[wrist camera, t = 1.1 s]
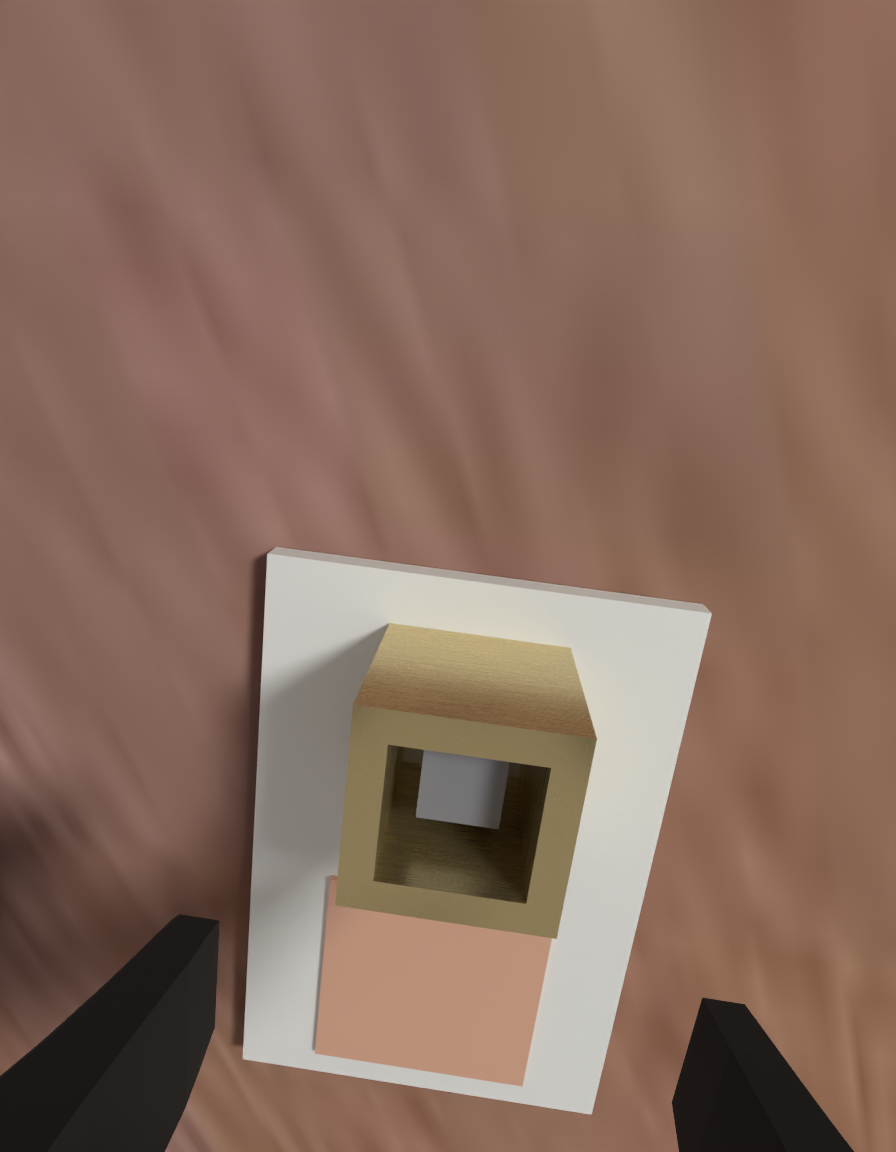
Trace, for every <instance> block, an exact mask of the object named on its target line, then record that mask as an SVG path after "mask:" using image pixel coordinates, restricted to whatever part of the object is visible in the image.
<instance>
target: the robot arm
mask: <svg viewBox="0 0 896 1152" xmlns="http://www.w3.org/2000/svg"><path fill="white" fill-rule="evenodd" d="M218 936H219V921H218V920H211V919H205V918H199V917H192V916H186V915H180V914H179V915H178V916H176V917H175V918H173V919H172V920H171V921H170V922H169V923H168V924H167V925H166V926H165V927H164V928H163V929H162V930H161V931H160V932H159V933H158V934H157V935H156V936H155V937H154V938H153V939H152V940H151V941H150V942H149V943H147V944H146V945H145V946H144V947H143V948H142V949H141V950H140V951H139V952H138V953H137V954H136V955H135V956H134V957H133V958H132V959H131V960H130V961H129V962H128V963H127V964H126V965H125V966H124V967H123V968H122V969H121V970H119V971H118V972H117V973H116V974H115V975H114V976H113V977H112V978H111V979H110V980H109V981H108V982H107V983H106V984H105V985H104V986H102V987H101V988H100V989H99V990H98V991H97V992H96V993H95V994H94V995H93V996H92V997H91V998H89V999H88V1000H87V1001H86V1002H85V1003H84V1004H83V1005H82V1006H81V1007H79V1008H78V1009H77V1010H76V1011H75V1012H74V1013H73V1014H72V1015H71V1016H69V1017H68V1018H67V1019H66V1020H65V1021H64V1022H63V1023H62V1024H61V1025H59V1026H58V1027H57V1028H56V1029H55V1030H54V1031H53V1032H52V1033H51V1034H49V1035H48V1036H47V1037H46V1038H45V1039H44V1040H43V1041H41V1042H40V1043H39V1044H38V1045H37V1046H36V1047H35V1048H33V1049H32V1050H31V1051H30V1052H29V1053H27V1054H26V1055H25V1056H24V1057H23V1058H21V1059H20V1060H19V1061H18V1062H17V1063H15V1064H14V1065H13V1066H12V1067H11V1068H9V1069H8V1070H7V1071H6V1072H5V1073H3V1074H2V1075H1V1076H0V1152H165V1150H166V1148H167V1146H168V1144H169V1141H170V1139H171V1137H172V1135H173V1133H174V1131H175V1129H176V1127H177V1124H178V1122H179V1120H180V1118H181V1116H182V1114H183V1111H184V1109H185V1107H186V1104H187V1102H188V1099H189V1096H190V1094H191V1091H192V1088H193V1086H194V1083H195V1080H196V1078H197V1075H198V1072H199V1070H200V1067H201V1064H202V1061H203V1059H204V1056H205V1053H206V1050H207V1047H208V1045H209V1042H210V1039H211V1036H212V1033H213V1031H214V1028H215V1008H216V984H217V960H218ZM672 1106H673V1113H674V1120H675V1126H676V1133H677V1140H678V1147H679V1152H854V1151H853V1150H852V1148H851V1147H850V1146H849V1145H848V1143H847V1142H846V1141H845V1139H844V1138H843V1137H842V1135H841V1134H840V1133H839V1132H838V1130H837V1129H836V1128H835V1126H834V1125H833V1124H832V1122H831V1121H830V1120H829V1118H828V1117H827V1116H826V1114H825V1113H824V1112H823V1110H822V1109H821V1108H820V1106H819V1105H818V1104H817V1102H816V1101H815V1099H814V1098H813V1097H812V1095H811V1094H810V1093H809V1091H808V1090H807V1089H806V1087H805V1086H804V1085H803V1083H802V1082H801V1081H800V1079H799V1078H798V1076H797V1075H796V1074H795V1072H794V1071H793V1070H792V1068H791V1067H790V1066H789V1064H788V1063H787V1061H786V1060H785V1059H784V1057H783V1056H782V1055H781V1053H780V1052H779V1051H778V1049H777V1048H776V1046H775V1045H774V1044H773V1042H772V1041H771V1040H770V1038H769V1037H768V1035H767V1034H766V1033H765V1031H764V1030H763V1029H762V1027H761V1026H760V1025H759V1023H758V1022H757V1020H756V1019H755V1018H754V1016H753V1015H752V1014H751V1012H750V1011H749V1010H748V1008H747V1007H746V1006H745V1004H739V1003H733V1002H726V1001H720V1000H714V999H708V998H702V1001H701V1005H700V1008H699V1011H698V1015H697V1018H696V1022H695V1025H694V1029H693V1032H692V1035H691V1039H690V1042H689V1046H688V1049H687V1052H686V1056H685V1059H684V1063H683V1066H682V1070H681V1073H680V1076H679V1080H678V1083H677V1087H676V1090H675V1094H674V1097H673V1100H672Z"/></svg>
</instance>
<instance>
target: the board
mask: <svg viewBox="0 0 896 1152" xmlns="http://www.w3.org/2000/svg"><path fill="white" fill-rule="evenodd" d="M711 615H712V613H711V612H710V611H709V610H708V609H707V608H706V607H705V606H704V605H703V604H698V603H690V602H683V601H675V600H668V599H661V598H653V597H646V596H638V595H631V594H623V593H616V592H608V591H601V590H593V589H586V588H579V587H571V586H564V585H556V584H549V583H541V582H534V581H526V580H519V579H512V578H504V577H497V576H489V575H482V574H474V573H467V572H459V571H452V570H444V569H437V568H430V567H422V566H415V565H407V564H400V563H392V562H385V561H377V560H370V559H363V558H355V557H348V556H340V555H333V554H325V553H318V552H310V551H303V550H295V549H288V548H281V547H276V548H274V549H273V550H272V551H270V552H269V553H267V571H266V591H265V612H264V632H263V653H262V674H261V694H260V715H259V735H258V756H257V777H256V797H255V818H254V838H253V859H252V879H251V900H250V921H249V941H248V962H247V982H246V1003H245V1023H244V1044H243V1059H246V1060H253V1061H259V1062H265V1063H271V1064H278V1065H284V1066H290V1067H296V1068H303V1069H309V1070H315V1071H322V1072H328V1073H334V1074H340V1075H347V1076H353V1077H359V1078H365V1079H372V1080H378V1081H384V1082H391V1083H397V1084H403V1085H409V1086H416V1087H422V1088H428V1089H435V1090H441V1091H447V1092H453V1093H460V1094H466V1095H472V1096H478V1097H485V1098H491V1099H497V1100H504V1101H510V1102H516V1103H522V1104H529V1105H535V1106H541V1107H547V1108H554V1109H560V1110H566V1111H573V1112H579V1113H585V1114H591V1115H592V1110H593V1106H594V1102H595V1098H596V1094H597V1090H598V1085H599V1081H600V1077H601V1073H602V1069H603V1065H604V1060H605V1056H606V1052H607V1048H608V1044H609V1040H610V1035H611V1031H612V1027H613V1023H614V1019H615V1015H616V1010H617V1006H618V1002H619V998H620V994H621V990H622V985H623V981H624V977H625V973H626V969H627V965H628V960H629V956H630V952H631V948H632V944H633V940H634V935H635V931H636V927H637V923H638V919H639V915H640V910H641V906H642V902H643V898H644V894H645V890H646V885H647V881H648V877H649V873H650V869H651V865H652V860H653V856H654V852H655V848H656V844H657V840H658V835H659V831H660V827H661V823H662V819H663V815H664V810H665V806H666V802H667V798H668V794H669V790H670V785H671V781H672V777H673V773H674V769H675V765H676V760H677V756H678V752H679V748H680V744H681V740H682V735H683V731H684V727H685V723H686V719H687V715H688V710H689V706H690V702H691V698H692V694H693V690H694V685H695V681H696V677H697V673H698V669H699V665H700V660H701V656H702V652H703V648H704V644H705V640H706V635H707V631H708V627H709V623H710V619H711ZM389 623H394V624H401V625H408V626H416V627H423V628H430V629H437V630H445V631H452V632H459V633H467V634H474V635H481V636H489V637H496V638H503V639H510V640H518V641H525V642H532V643H540V644H547V645H554V646H561V647H569V648H571V651H572V654H573V658H574V661H575V664H576V668H577V671H578V675H579V678H580V682H581V685H582V689H583V692H584V696H585V699H586V703H587V706H588V709H589V713H590V716H591V720H592V723H593V727H594V730H595V734H596V737H597V741H596V746H595V751H594V756H593V761H592V766H591V771H590V776H589V781H588V786H587V791H586V796H585V801H584V806H583V811H582V816H581V821H580V826H579V831H578V835H577V840H576V845H575V850H574V855H573V860H572V865H571V870H570V875H569V880H568V885H567V890H566V895H565V900H564V905H563V910H562V915H561V920H560V925H559V930H558V935H557V939H553V938H547V937H540V936H534V935H527V934H520V933H514V932H507V931H500V930H494V929H487V928H481V927H474V926H467V925H461V924H454V923H448V922H441V921H434V920H428V919H421V918H415V917H408V916H401V915H395V914H388V913H381V912H375V911H368V910H362V909H355V908H348V907H342V906H335V899H336V887H337V876H338V865H339V854H340V843H341V832H342V821H343V810H344V799H345V787H346V776H347V765H348V754H349V743H350V732H351V721H352V710H353V703H354V701H355V699H356V697H357V694H358V692H359V690H360V688H361V685H362V683H363V681H364V679H365V677H366V674H367V672H368V670H369V668H370V665H371V663H372V661H373V659H374V657H375V654H376V652H377V650H378V648H379V645H380V643H381V641H382V639H383V637H384V634H385V632H386V630H387V628H388V626H389ZM403 761H404V762H411V763H418V764H422V770H421V778H420V786H419V794H418V802H417V810H416V817H418V818H424V819H431V820H438V821H445V822H452V823H459V824H465V825H472V826H479V827H486V828H493V829H499V825H500V818H501V812H502V806H503V800H504V794H505V788H506V782H507V776H508V777H515V778H519V774H520V768H521V764H520V763H513V762H506V761H499V760H492V759H485V758H478V757H471V756H464V755H457V754H450V753H443V752H436V751H429V750H422V749H415V748H408V747H405V748H404V756H403Z"/></svg>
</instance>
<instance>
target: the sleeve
mask: <svg viewBox="0 0 896 1152" xmlns="http://www.w3.org/2000/svg"><path fill="white" fill-rule="evenodd" d="M596 741H597V737H596V734H595V730H594V727H593V723H592V720H591V716H590V713H589V709H588V706H587V703H586V699H585V696H584V692H583V689H582V685H581V682H580V678H579V675H578V671H577V668H576V664H575V661H574V658H573V654H572V651H571V648H569V647H561V646H554V645H547V644H540V643H532V642H525V641H518V640H510V639H503V638H496V637H489V636H481V635H474V634H467V633H459V632H452V631H445V630H437V629H430V628H423V627H416V626H408V625H401V624H394V623H389V626H388V628H387V630H386V632H385V634H384V637H383V639H382V641H381V643H380V645H379V648H378V650H377V652H376V654H375V657H374V659H373V661H372V663H371V665H370V668H369V670H368V672H367V674H366V677H365V679H364V681H363V683H362V685H361V688H360V690H359V692H358V694H357V697H356V699H355V701H354V703H353V710H352V721H351V732H350V743H349V754H348V765H347V776H346V787H345V799H344V810H343V821H342V832H341V843H340V854H339V865H338V876H337V887H336V899H335V906H342V907H348V908H355V909H362V910H368V911H375V912H381V913H388V914H395V915H401V916H408V917H415V918H421V919H428V920H434V921H441V922H448V923H454V924H461V925H467V926H474V927H481V928H487V929H494V930H500V931H507V932H514V933H520V934H527V935H534V936H540V937H547V938H553V939H557V935H558V930H559V925H560V920H561V915H562V910H563V905H564V900H565V895H566V890H567V885H568V880H569V875H570V870H571V865H572V860H573V855H574V850H575V845H576V840H577V835H578V831H579V826H580V821H581V816H582V811H583V806H584V801H585V796H586V791H587V786H588V781H589V776H590V771H591V766H592V761H593V756H594V751H595V746H596ZM405 747H408V748H415V749H422V750H429V751H436V752H443V753H450V754H457V755H464V756H471V757H478V758H485V759H492V760H499V761H506V762H513V763H520V764H521V768H520V774H519V778H515V777H508V776H507V782H506V788H505V794H504V800H503V806H502V812H501V818H500V825H499V829H493V828H486V827H479V826H472V825H465V824H459V823H452V822H445V821H438V820H431V819H424V818H418V817H416V810H417V802H418V794H419V786H420V778H421V770H422V764H418V763H411V762H404V761H403V756H404V748H405Z"/></svg>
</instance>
